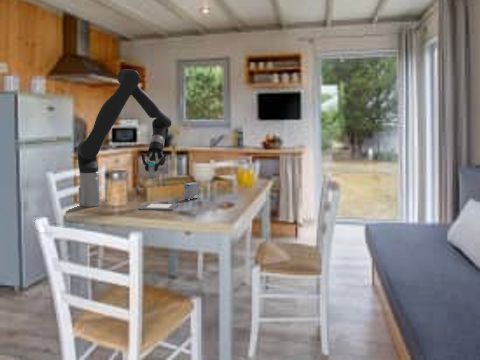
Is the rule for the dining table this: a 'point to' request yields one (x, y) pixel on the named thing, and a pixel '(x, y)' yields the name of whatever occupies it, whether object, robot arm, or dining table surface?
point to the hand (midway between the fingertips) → (151, 170)
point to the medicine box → (191, 190)
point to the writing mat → (158, 206)
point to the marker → (151, 170)
